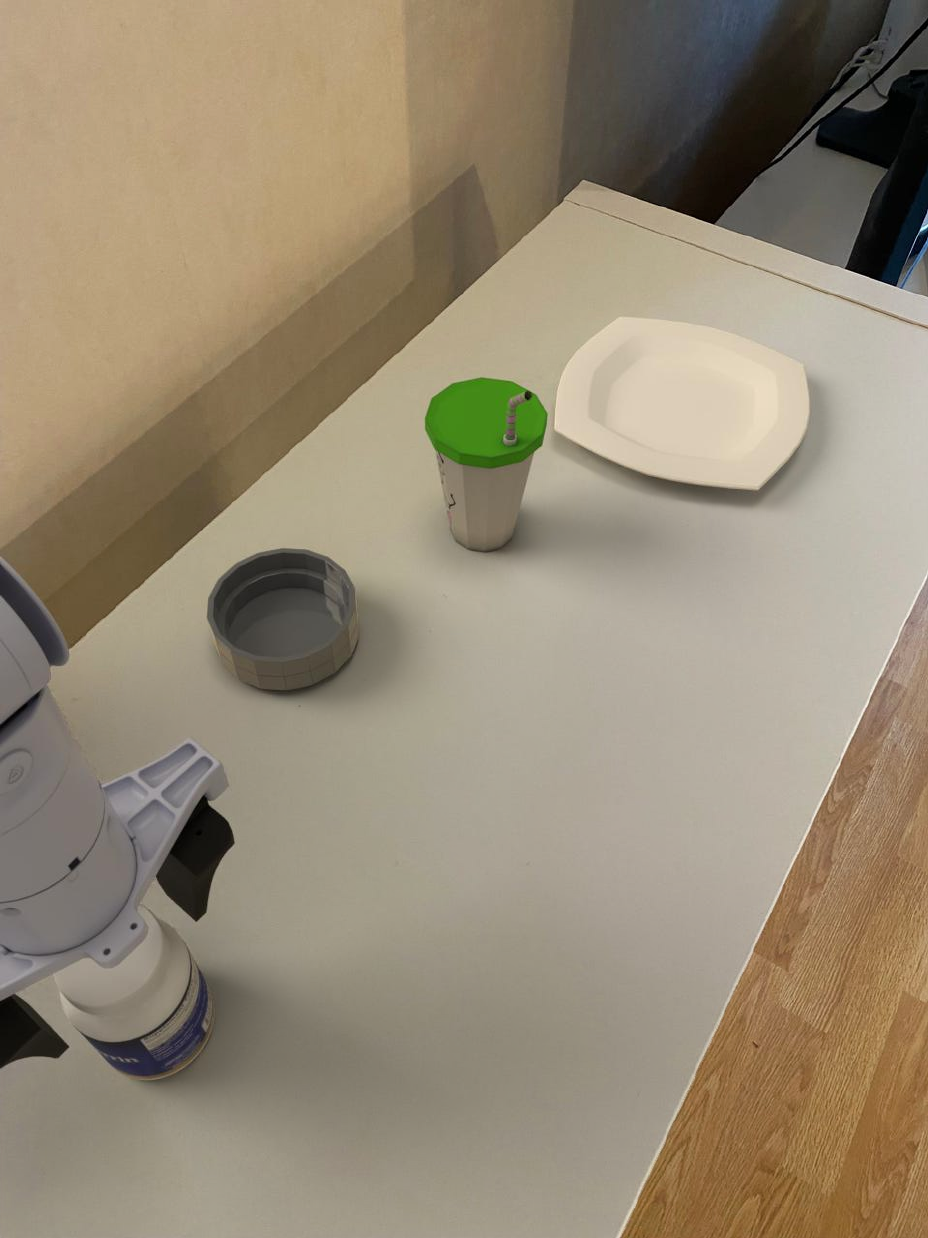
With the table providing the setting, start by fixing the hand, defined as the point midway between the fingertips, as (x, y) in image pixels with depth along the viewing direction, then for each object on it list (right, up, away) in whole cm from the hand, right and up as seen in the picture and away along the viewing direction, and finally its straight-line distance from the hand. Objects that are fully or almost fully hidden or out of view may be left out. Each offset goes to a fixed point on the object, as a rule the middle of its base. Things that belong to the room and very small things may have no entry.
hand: (121, 968), depth 45 cm
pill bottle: (0, -5, +6) cm, 8 cm away
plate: (+32, +32, +36) cm, 58 cm away
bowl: (+4, +14, +21) cm, 26 cm away
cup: (+16, +22, +28) cm, 39 cm away
